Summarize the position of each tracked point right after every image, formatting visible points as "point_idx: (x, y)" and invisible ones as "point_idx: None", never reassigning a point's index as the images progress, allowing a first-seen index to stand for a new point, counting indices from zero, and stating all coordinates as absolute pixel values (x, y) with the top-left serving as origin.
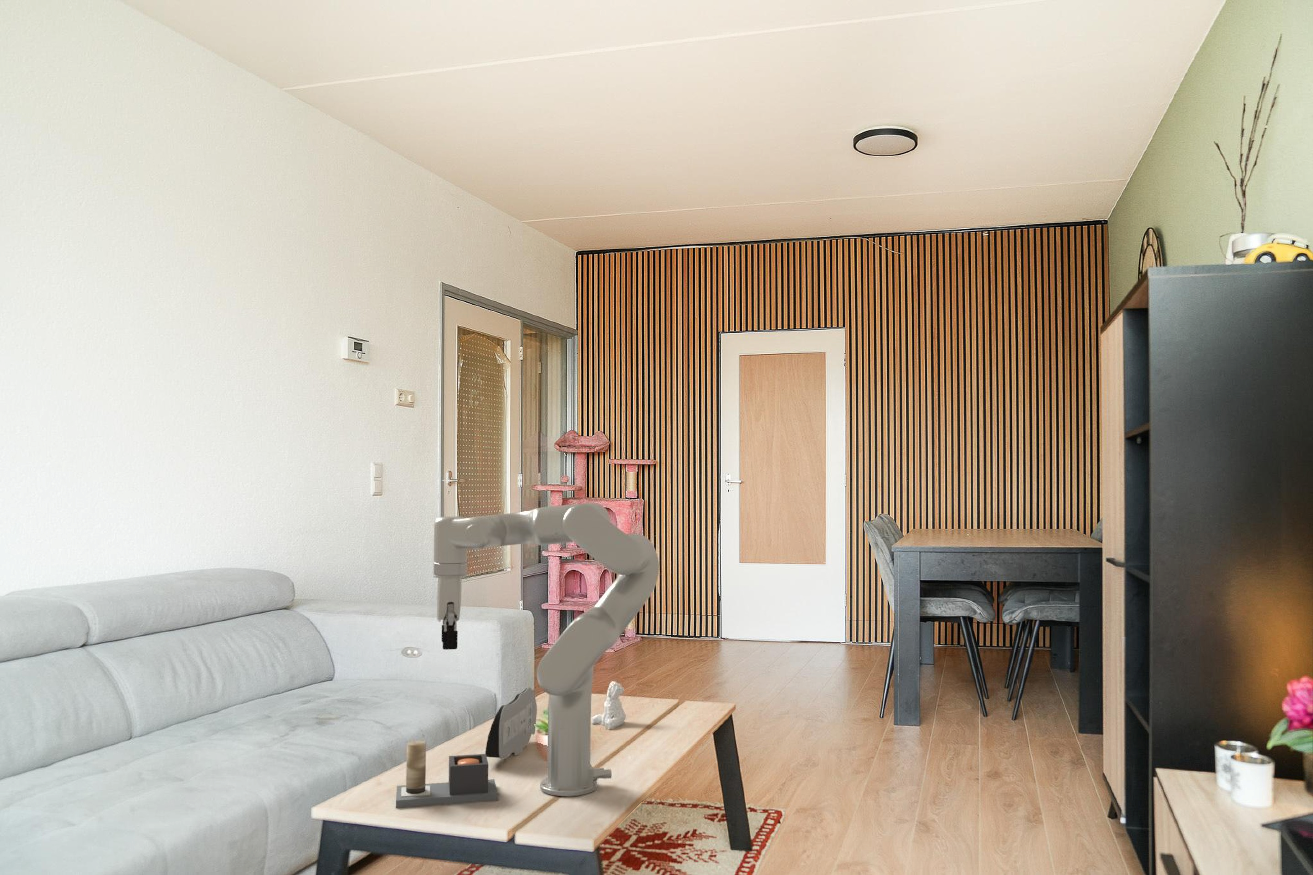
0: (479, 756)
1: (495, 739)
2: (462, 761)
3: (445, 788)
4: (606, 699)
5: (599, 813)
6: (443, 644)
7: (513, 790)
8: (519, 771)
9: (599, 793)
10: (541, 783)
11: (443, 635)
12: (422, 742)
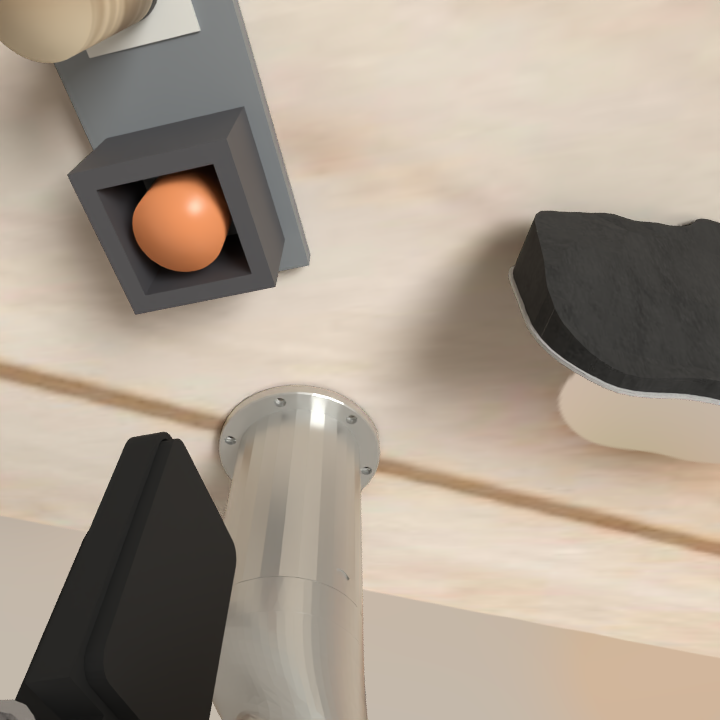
0: (249, 264)
1: (529, 285)
2: (173, 207)
3: (183, 105)
4: None
5: None
6: (112, 489)
7: (270, 315)
8: (472, 311)
9: None
10: (286, 396)
11: (60, 615)
12: (64, 37)
